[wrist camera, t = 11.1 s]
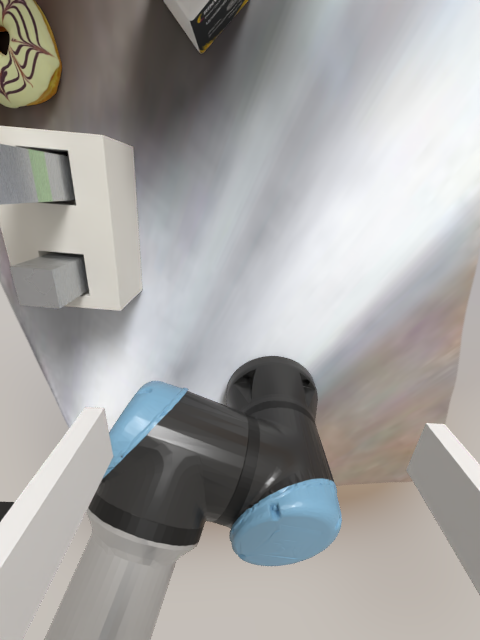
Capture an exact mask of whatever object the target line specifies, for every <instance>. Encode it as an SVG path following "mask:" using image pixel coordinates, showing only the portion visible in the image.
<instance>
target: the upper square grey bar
mask: <svg viewBox="0 0 480 640" xmlns="http://www.w3.org/2000/svg"><path fill="white" fill-rule="evenodd" d="M68 200H75V194H74V187H73V180H72V174H71V167H70V160H69V157H68V156H63V155H58V154H52V153H47V152H42V151H36V150H31V149H26V148H20V147H15V146H10V145H4V144H0V205H2V204H19V203H35V202H52V201H68Z"/></svg>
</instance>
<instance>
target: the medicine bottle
mask: <svg viewBox="0 0 480 640" xmlns="http://www.w3.org/2000/svg"><path fill="white" fill-rule="evenodd" d="M163 1H164V3H165V4H166V5H167V7H168V8H169V10H170V11H171V13H172V14H173V16H174V17H175V18H176V20H177V21H178V23H179V24H180V26H181V27H182V28H183V30H184V31H185V33H186V34H187V36H188V37H189V39H190V40H191V41H192V43H193V44H194V46H195V47H196V49H197V50H198V51H199V52H200V53H204V52H205V51H206V49H207V48H208V47H209V46H210V45H211V44H212V42H213V41H214V40H215V39H216V38H217V37H218V35H219V34H220V33H221V32H222V31H223V30H224V28H225V27H226V26H227V25H228V24H229V23H230V21H231V20H232V19H233V18H234V17H235V16H236V14H237V13H238V12H239V11H240V10H241V9H242V8H243V6H244V5H245V4H246V3H247V2H248V1H249V0H163Z"/></svg>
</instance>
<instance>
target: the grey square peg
mask: <svg viewBox="0 0 480 640" xmlns="http://www.w3.org/2000/svg"><path fill="white" fill-rule="evenodd" d="M10 270H11V274H12V278H13V281H14V285H15V289H16V293H17V296H18V300H19V304H20V306H33V307H45V308H58V309H60V308H62V307H63V306H65V305H66V304H68V303H69V302H71V301H72V300H74V299H76V298H77V297H79V296H80V295H82V294H83V293H85V292H86V291H88V290H89V287H88V280H87V274H86V267H85V260H84V254H73V253H61V252H53V253H50V254H47V255H43V256H40V257H37V258H34V259H31V260H28V261H25V262H22V263H19V264H16V265H13V266H10Z"/></svg>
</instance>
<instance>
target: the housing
mask: <svg viewBox="0 0 480 640" xmlns="http://www.w3.org/2000/svg"><path fill="white" fill-rule="evenodd" d="M0 144H4V145H10V146H15V147H20V148H26V149H31V150H36V151H42V152H47V153H52V154H58V155H63V156H64V155H69V160H70V167H71V174H72V180H73V187H74V194H75V200H68V201H52V202H35V203H19V204H2V205H0V227H1V231H2V235H3V238H4V242H5V246H6V250H7V254H8V258H9V261H10V265H11V266H13V265H16V264H19V263H22V262H25V261H28V260H31V259H34V258H37V257H40V256H43V255H47V254H50V253H53V252H61V253H73V254H84V260H85V267H86V274H87V280H88V287H89V290H88V291H86V292H85V293H83V294H82V295H80V296H79V297H77V298H76V299H74V300H72V301H71V302H69V303H68V304H66V305H65V306H67V307H80V308H92V309H105V310H117V311H121V310H122V309H123V308H124V307H125V306H126V305H127V304H128V303H129V302H130V301H131V300H132V299H133V298H135V297H136V296H137V295H138V294H139V293H140V292H141V291H142V290H143V287H142V272H141V257H140V242H139V227H138V212H137V196H136V181H135V166H134V151H133V147H132V146H130V145H127V144H125V143H122V142H119V141H117V140H114V139H112V138H109V137H106V136H104V135H96V134H85V133H74V132H63V131H53V130H42V129H31V128H20V127H9V126H0Z"/></svg>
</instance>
